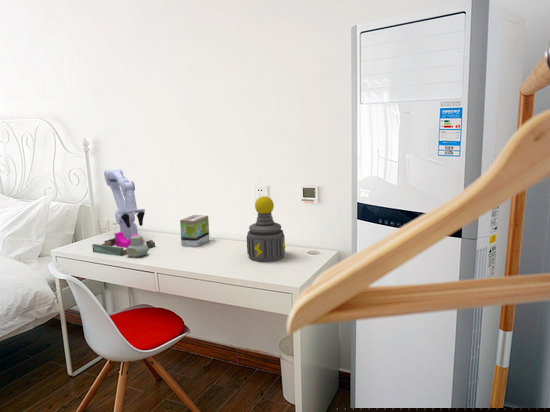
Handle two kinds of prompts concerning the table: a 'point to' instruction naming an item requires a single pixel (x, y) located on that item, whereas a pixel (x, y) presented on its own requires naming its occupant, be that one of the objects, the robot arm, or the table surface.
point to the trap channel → (109, 248)
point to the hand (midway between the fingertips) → (135, 226)
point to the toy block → (122, 240)
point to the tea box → (194, 230)
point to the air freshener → (137, 247)
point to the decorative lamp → (265, 234)
